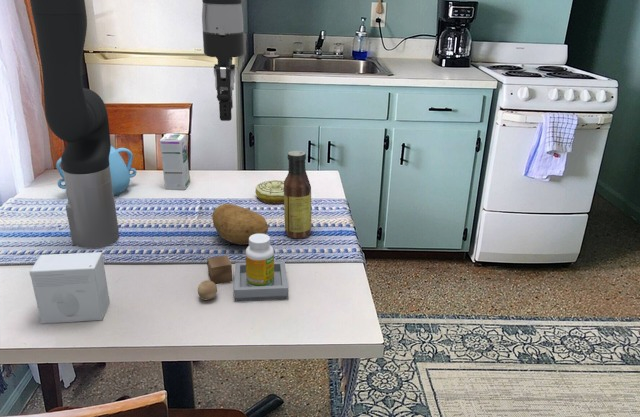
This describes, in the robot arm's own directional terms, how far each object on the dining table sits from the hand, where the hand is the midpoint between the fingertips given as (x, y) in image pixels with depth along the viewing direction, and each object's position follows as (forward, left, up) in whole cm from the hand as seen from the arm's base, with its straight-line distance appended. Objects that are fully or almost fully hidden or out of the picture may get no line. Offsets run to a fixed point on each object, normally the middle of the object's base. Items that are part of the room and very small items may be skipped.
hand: (226, 114), depth 108 cm
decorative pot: (-36, +34, -30) cm, 58 cm away
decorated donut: (+11, +28, -31) cm, 43 cm away
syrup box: (-16, +37, -30) cm, 50 cm away
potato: (+2, +3, -30) cm, 31 cm away
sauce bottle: (+15, +6, -30) cm, 34 cm away
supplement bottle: (+6, -16, -30) cm, 34 cm away
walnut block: (-2, -12, -30) cm, 33 cm away
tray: (+6, -16, -30) cm, 35 cm away
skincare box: (-27, -22, -30) cm, 46 cm away
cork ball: (-4, -20, -28) cm, 35 cm away
